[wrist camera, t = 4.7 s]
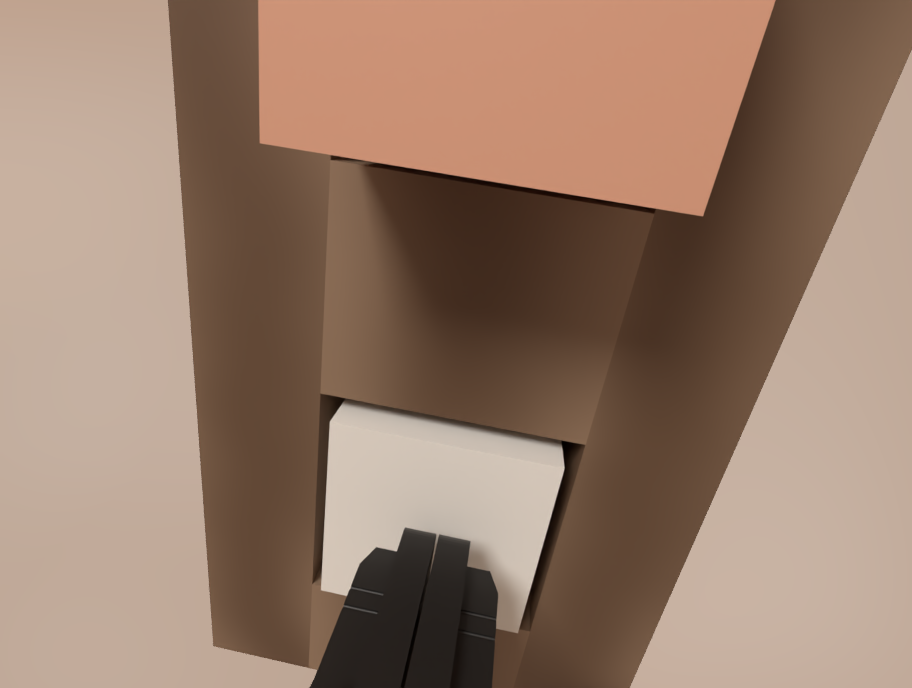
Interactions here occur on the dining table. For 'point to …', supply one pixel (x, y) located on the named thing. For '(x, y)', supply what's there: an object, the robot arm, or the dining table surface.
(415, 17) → the terracotta button
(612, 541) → the button panel
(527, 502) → the white button
